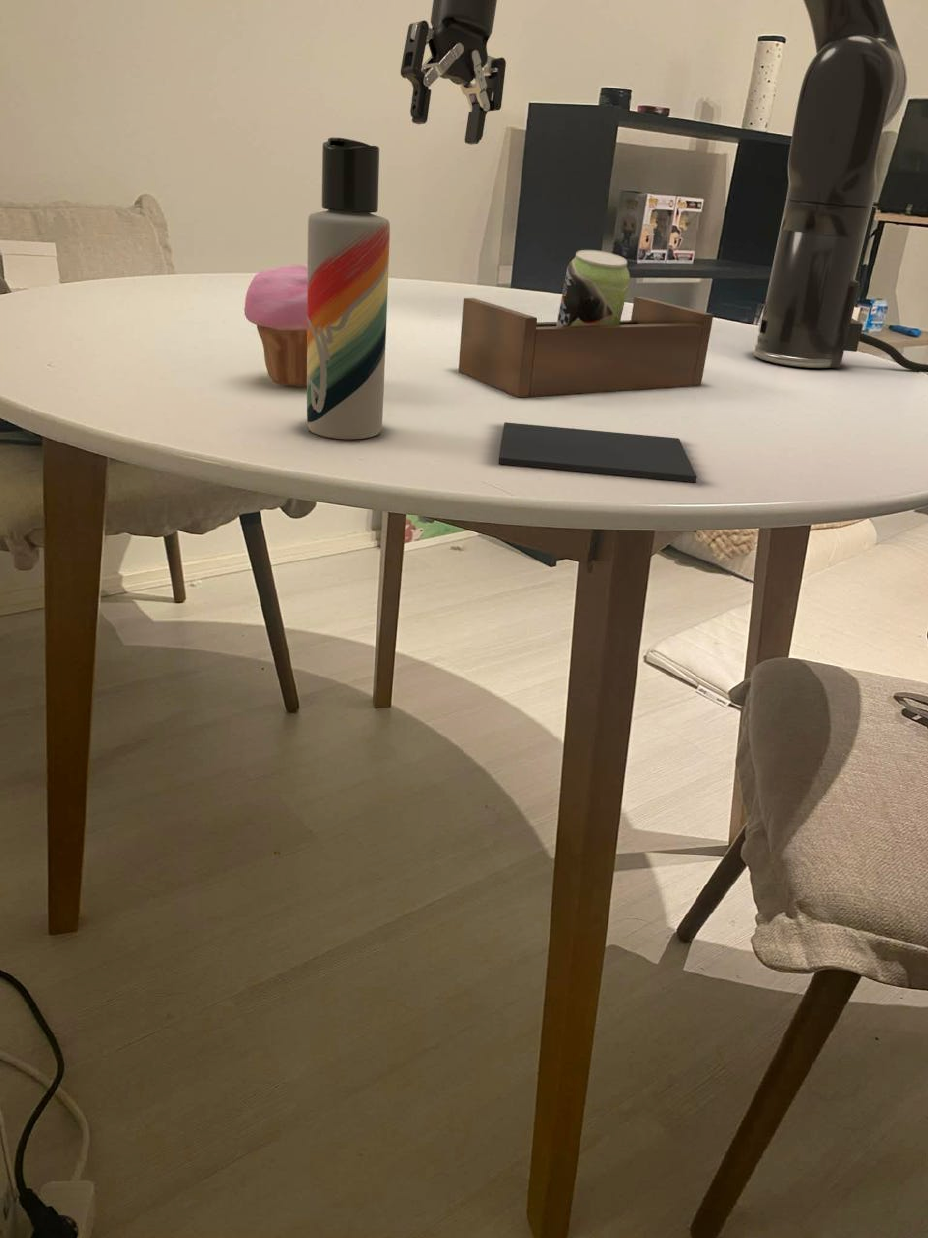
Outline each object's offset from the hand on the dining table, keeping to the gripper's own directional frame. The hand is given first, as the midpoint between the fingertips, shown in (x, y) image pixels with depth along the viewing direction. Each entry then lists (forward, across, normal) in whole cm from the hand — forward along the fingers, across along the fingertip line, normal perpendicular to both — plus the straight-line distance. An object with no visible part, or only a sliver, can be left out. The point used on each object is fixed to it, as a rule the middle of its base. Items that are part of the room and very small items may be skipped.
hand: (446, 133), depth 121 cm
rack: (+27, -6, -35) cm, 45 cm away
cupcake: (+32, -33, -26) cm, 53 cm away
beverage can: (+27, -6, -35) cm, 45 cm away
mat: (+33, -24, -54) cm, 68 cm away
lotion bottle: (+34, -38, -41) cm, 65 cm away
